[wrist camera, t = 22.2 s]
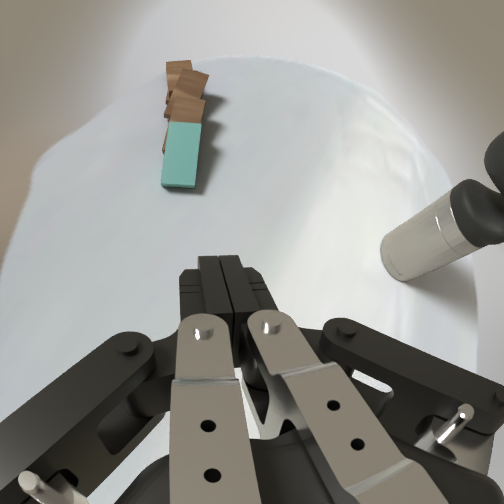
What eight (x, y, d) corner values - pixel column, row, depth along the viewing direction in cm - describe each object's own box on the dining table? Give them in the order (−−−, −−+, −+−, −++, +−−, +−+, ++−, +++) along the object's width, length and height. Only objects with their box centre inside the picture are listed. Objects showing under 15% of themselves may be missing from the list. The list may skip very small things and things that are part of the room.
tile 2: (163, 153, 45) (176, 101, 45) (193, 157, 45) (204, 105, 46) (162, 149, 43) (176, 96, 43) (193, 154, 44) (205, 100, 44)
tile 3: (163, 117, 46) (182, 72, 46) (190, 124, 48) (207, 79, 48) (164, 113, 45) (183, 67, 45) (191, 120, 46) (209, 74, 46)
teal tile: (161, 186, 43) (170, 126, 43) (194, 188, 44) (201, 128, 44) (160, 183, 41) (169, 121, 41) (194, 185, 42) (201, 123, 42)
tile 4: (168, 97, 48) (166, 68, 51) (195, 95, 49) (190, 66, 52) (169, 90, 46) (166, 62, 49) (196, 88, 47) (190, 60, 50)
